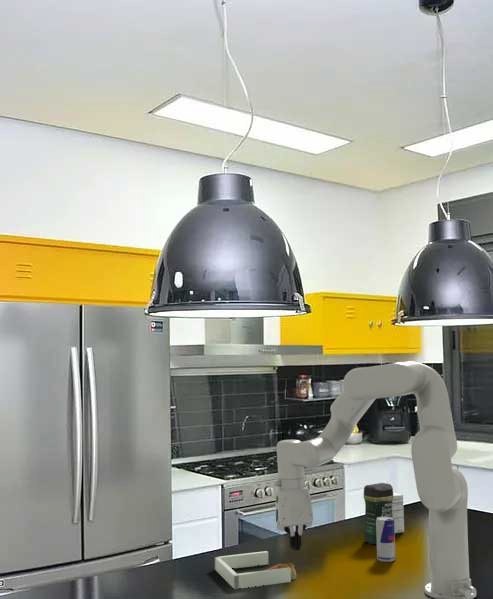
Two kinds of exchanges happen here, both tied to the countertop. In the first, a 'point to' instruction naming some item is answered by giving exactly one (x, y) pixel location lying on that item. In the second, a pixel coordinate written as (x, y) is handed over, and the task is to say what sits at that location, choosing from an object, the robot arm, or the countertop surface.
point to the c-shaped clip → (251, 578)
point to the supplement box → (398, 512)
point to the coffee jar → (376, 507)
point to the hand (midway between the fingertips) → (295, 549)
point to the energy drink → (385, 539)
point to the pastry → (290, 565)
